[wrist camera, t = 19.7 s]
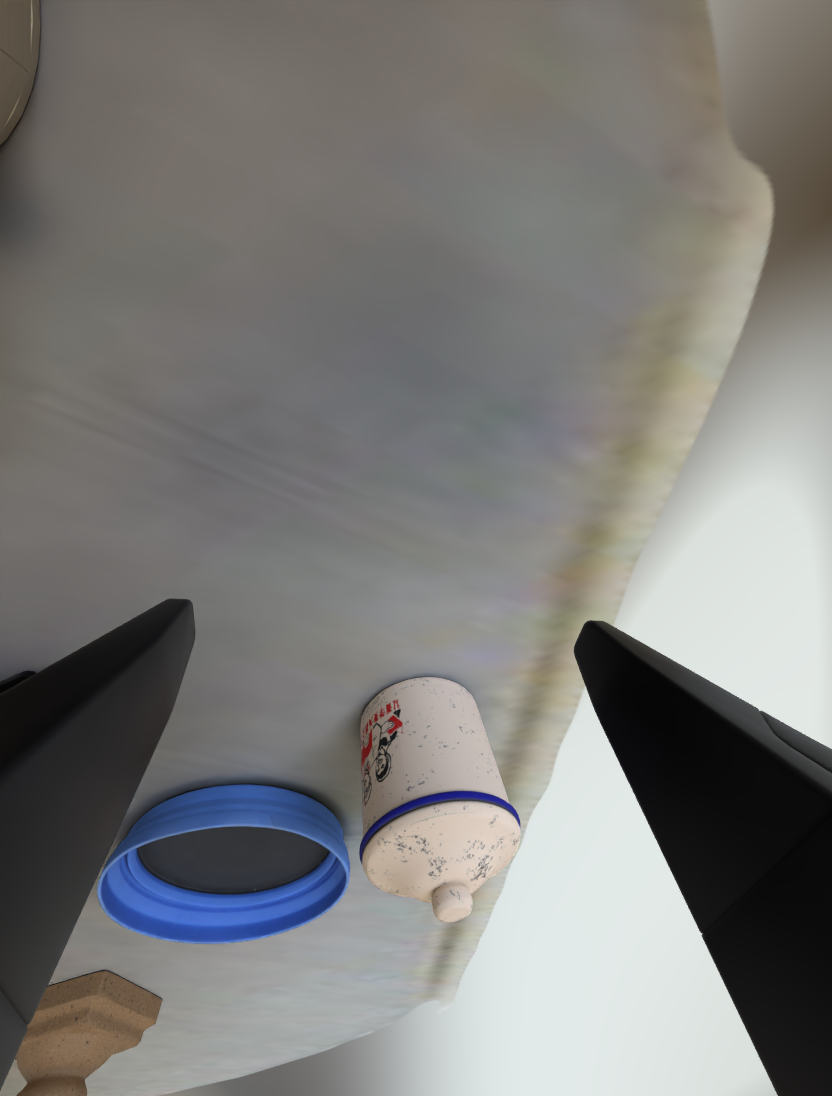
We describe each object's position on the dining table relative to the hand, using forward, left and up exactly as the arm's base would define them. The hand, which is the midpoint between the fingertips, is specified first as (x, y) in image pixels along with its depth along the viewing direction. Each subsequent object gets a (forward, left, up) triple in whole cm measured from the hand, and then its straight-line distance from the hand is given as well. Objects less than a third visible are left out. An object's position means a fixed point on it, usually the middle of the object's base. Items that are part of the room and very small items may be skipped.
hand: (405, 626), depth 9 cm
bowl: (-24, -25, -13) cm, 37 cm away
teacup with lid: (-6, -20, -13) cm, 25 cm away
